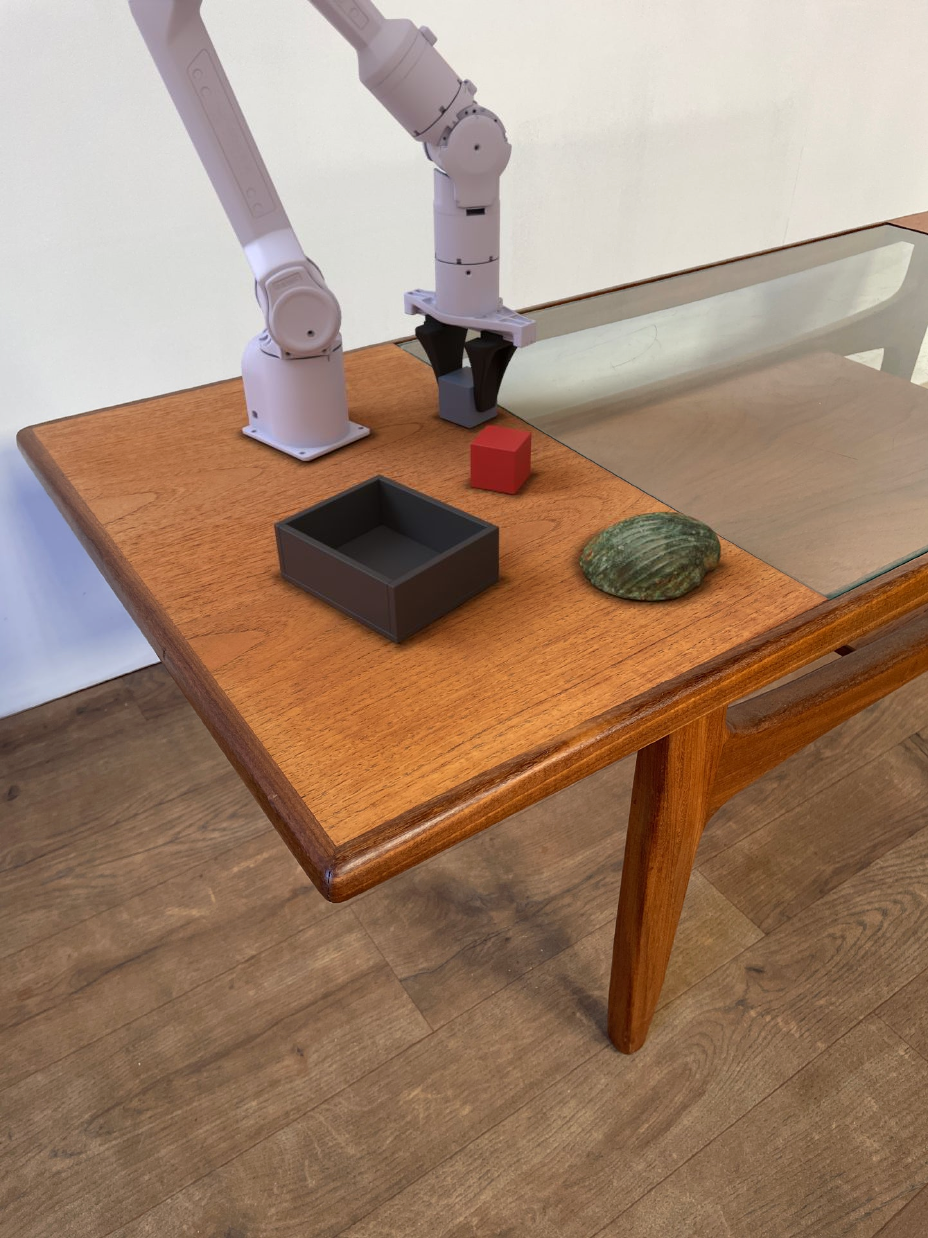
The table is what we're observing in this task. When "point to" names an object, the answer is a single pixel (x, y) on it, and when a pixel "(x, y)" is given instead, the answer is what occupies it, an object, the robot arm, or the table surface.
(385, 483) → the bin
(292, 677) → the table surface
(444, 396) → the blue block
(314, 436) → the robot arm
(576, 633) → the table surface
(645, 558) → the seashell
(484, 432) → the red block
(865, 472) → the table surface
